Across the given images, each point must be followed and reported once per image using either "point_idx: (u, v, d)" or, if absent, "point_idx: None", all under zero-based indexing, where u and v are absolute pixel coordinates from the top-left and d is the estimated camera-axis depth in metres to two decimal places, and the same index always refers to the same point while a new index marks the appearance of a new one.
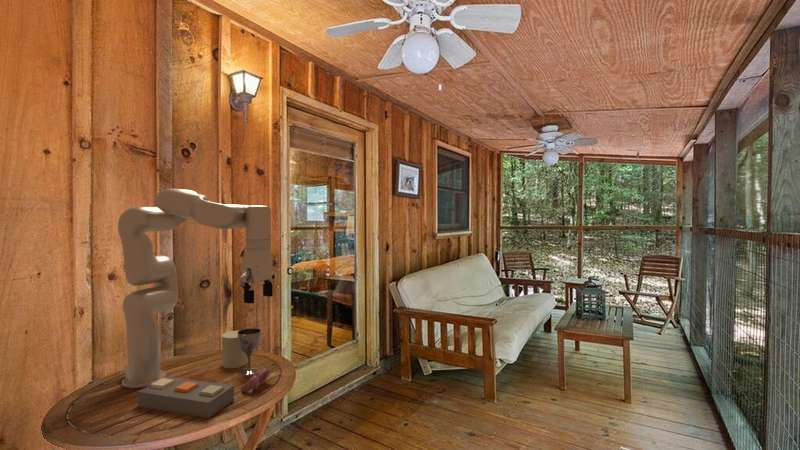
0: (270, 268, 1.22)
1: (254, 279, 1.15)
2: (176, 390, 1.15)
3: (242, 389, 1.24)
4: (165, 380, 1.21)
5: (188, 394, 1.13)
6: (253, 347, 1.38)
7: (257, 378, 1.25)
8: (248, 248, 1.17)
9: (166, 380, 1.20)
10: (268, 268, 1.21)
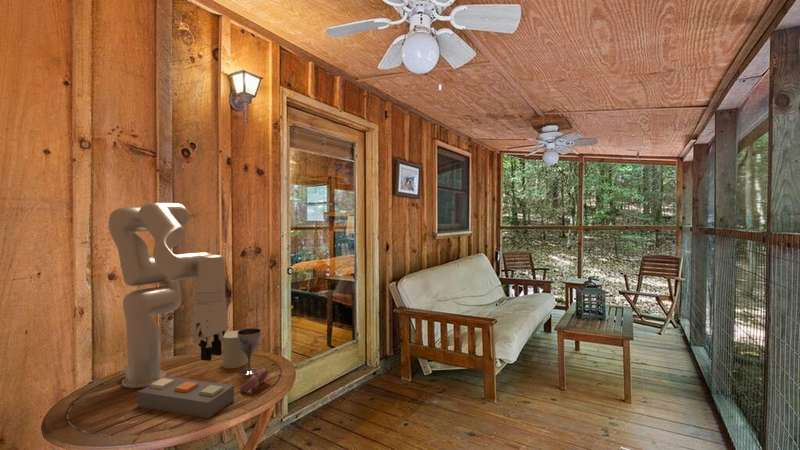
0: (224, 320, 1.16)
1: (204, 334, 1.09)
2: (176, 390, 1.15)
3: (241, 389, 1.24)
4: (165, 380, 1.21)
5: (188, 394, 1.13)
6: (253, 347, 1.38)
7: (256, 378, 1.25)
8: (198, 301, 1.11)
9: (166, 380, 1.20)
10: (221, 320, 1.15)
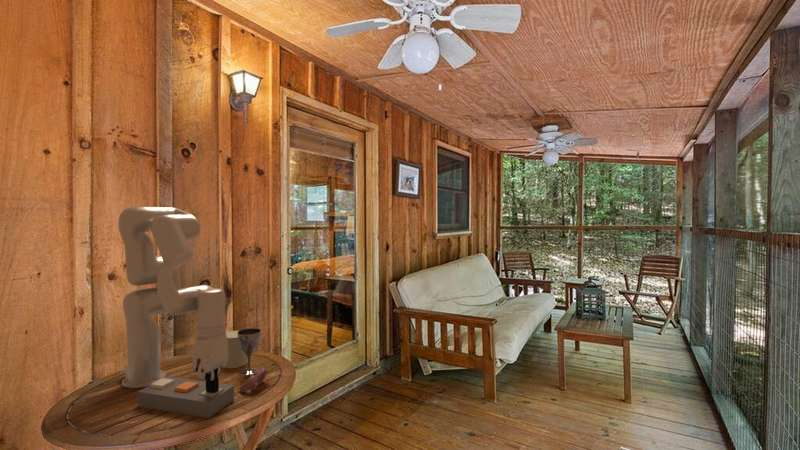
0: (225, 353, 1.17)
1: (205, 370, 1.10)
2: (176, 390, 1.15)
3: (240, 389, 1.24)
4: (165, 380, 1.21)
5: (188, 394, 1.13)
6: (253, 347, 1.38)
7: (255, 378, 1.25)
8: (199, 336, 1.11)
9: (166, 380, 1.20)
10: (222, 354, 1.15)
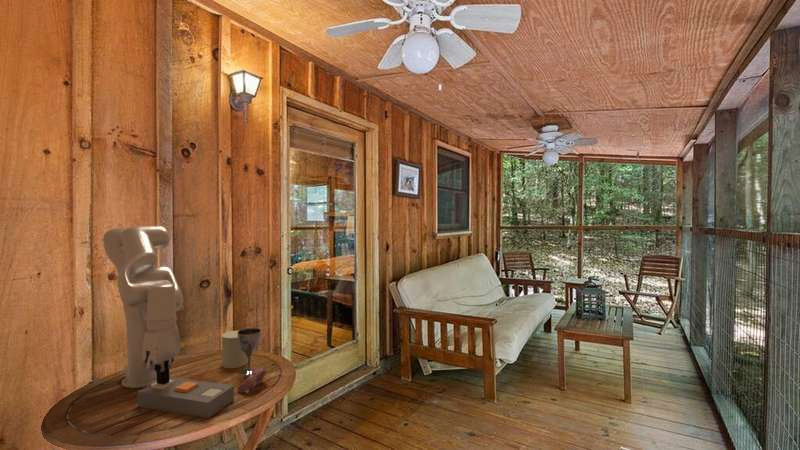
0: (176, 346, 1.21)
1: (154, 361, 1.14)
2: (176, 390, 1.15)
3: (239, 389, 1.24)
4: None
5: (188, 394, 1.13)
6: (253, 347, 1.38)
7: (254, 378, 1.25)
8: (149, 329, 1.15)
9: None
10: (172, 346, 1.20)
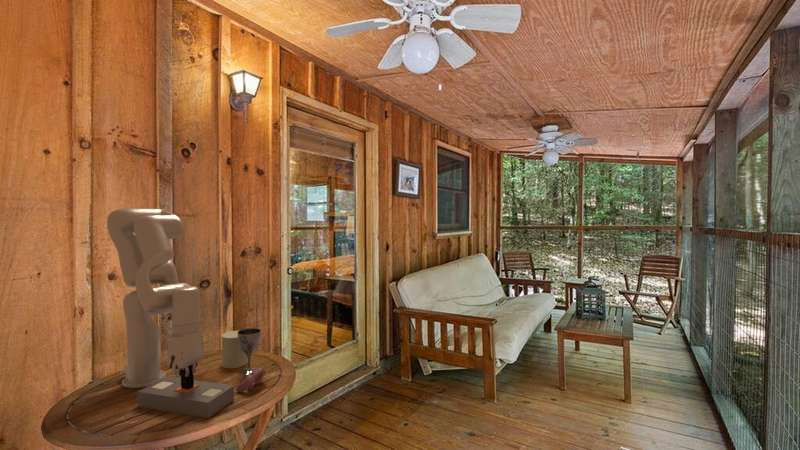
0: (200, 350, 1.19)
1: (179, 366, 1.12)
2: None
3: (237, 389, 1.24)
4: (165, 383, 1.21)
5: (188, 394, 1.13)
6: (253, 347, 1.38)
7: (252, 378, 1.25)
8: (173, 333, 1.13)
9: (166, 384, 1.20)
10: (197, 351, 1.18)
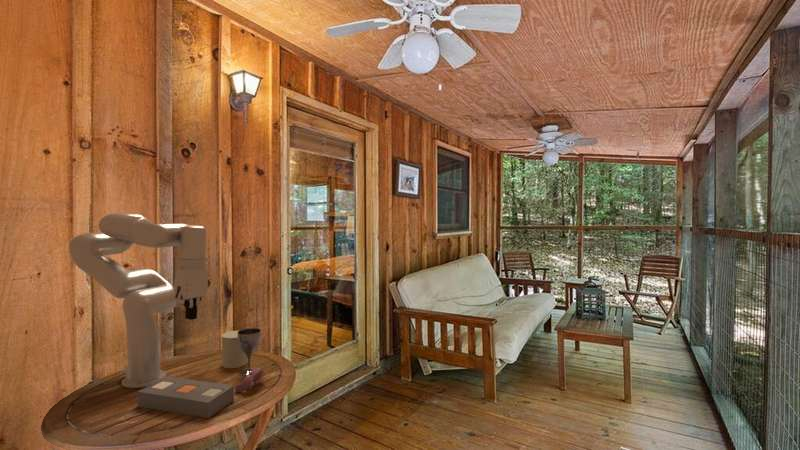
0: (204, 285, 1.28)
1: (184, 297, 1.21)
2: None
3: (236, 389, 1.24)
4: (165, 383, 1.21)
5: (188, 394, 1.13)
6: (253, 347, 1.38)
7: (251, 378, 1.25)
8: (180, 266, 1.22)
9: (166, 384, 1.20)
10: (201, 285, 1.27)
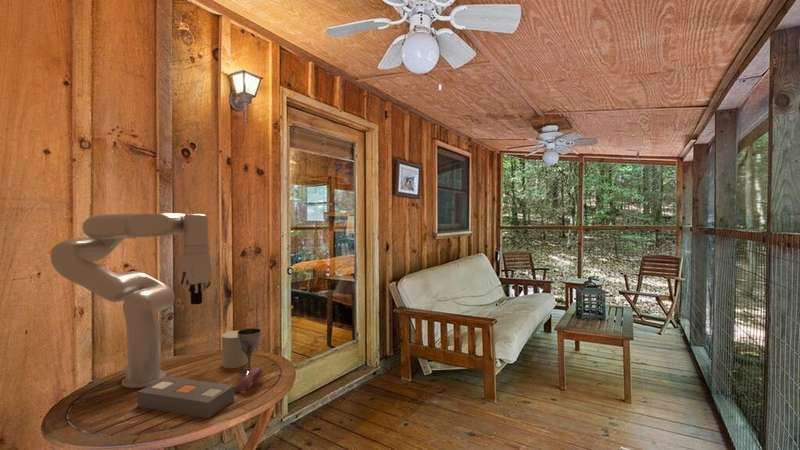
0: (208, 271, 1.33)
1: (189, 281, 1.26)
2: None
3: (235, 389, 1.24)
4: (165, 383, 1.21)
5: (188, 394, 1.13)
6: (253, 347, 1.38)
7: (250, 378, 1.25)
8: (185, 253, 1.27)
9: (166, 384, 1.20)
10: (205, 271, 1.31)
